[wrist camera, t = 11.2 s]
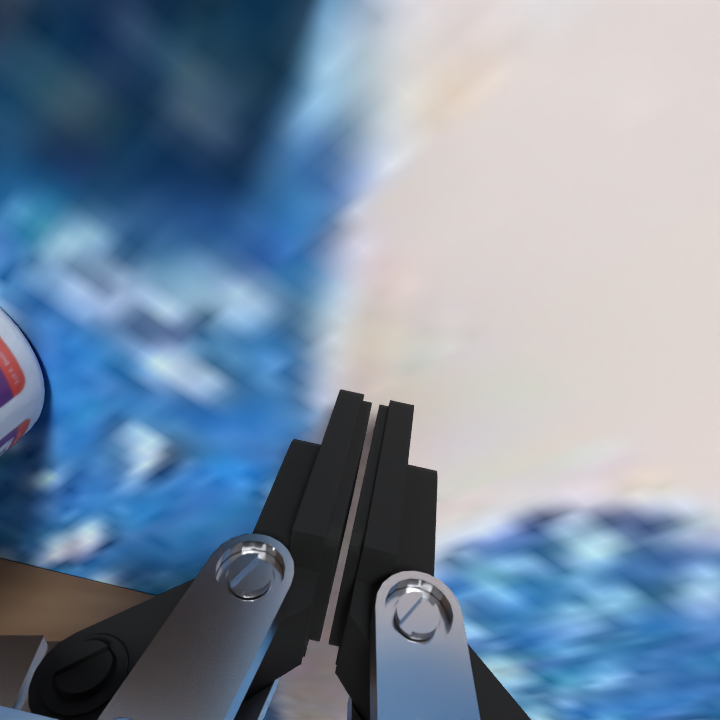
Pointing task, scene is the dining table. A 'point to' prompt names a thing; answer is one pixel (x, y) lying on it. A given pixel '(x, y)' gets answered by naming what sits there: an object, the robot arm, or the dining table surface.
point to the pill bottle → (17, 384)
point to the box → (56, 601)
